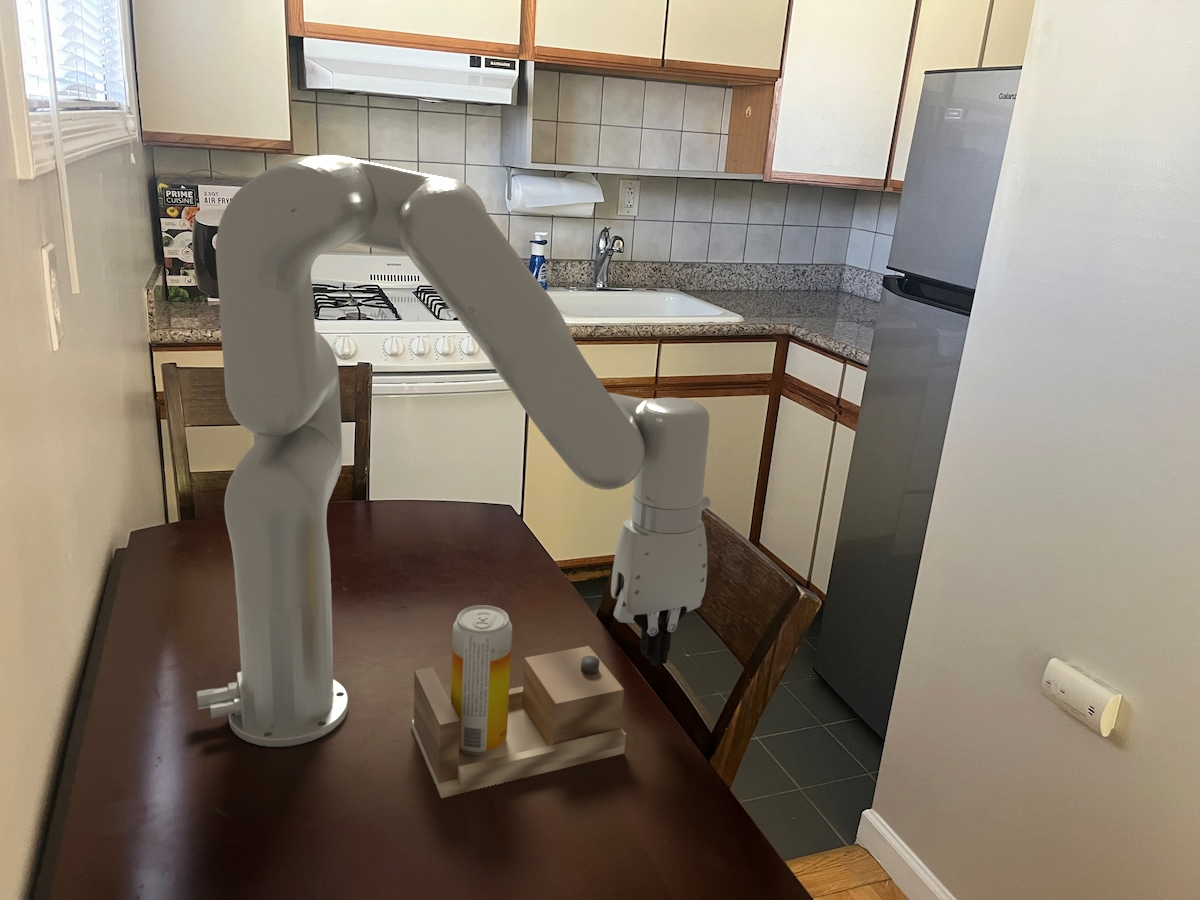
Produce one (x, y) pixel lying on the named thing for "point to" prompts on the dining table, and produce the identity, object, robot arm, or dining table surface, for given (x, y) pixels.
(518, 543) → the dining table surface
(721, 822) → the dining table surface
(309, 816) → the dining table surface
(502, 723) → the beer can
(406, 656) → the dining table surface
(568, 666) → the block
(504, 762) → the vise base
